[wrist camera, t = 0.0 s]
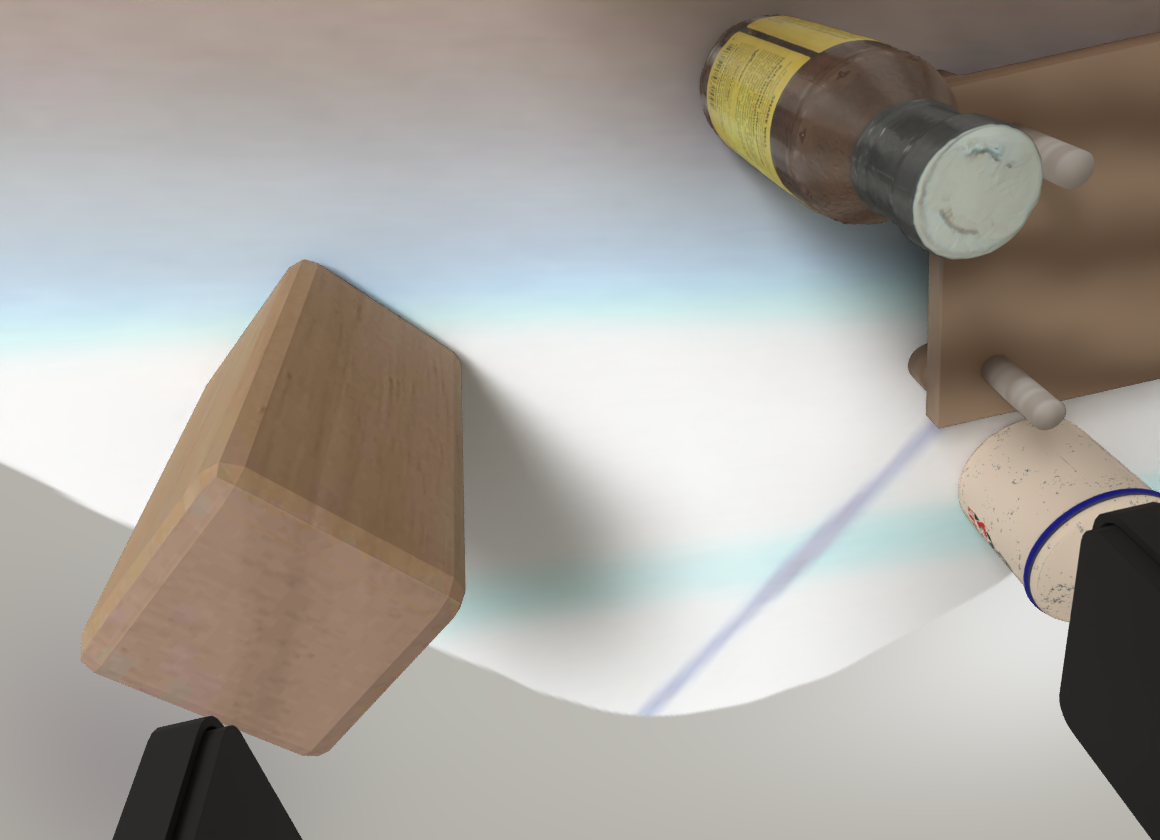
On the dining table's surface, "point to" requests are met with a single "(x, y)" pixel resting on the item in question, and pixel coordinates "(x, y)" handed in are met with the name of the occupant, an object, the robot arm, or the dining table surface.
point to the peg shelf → (1057, 245)
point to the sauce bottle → (869, 135)
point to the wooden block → (297, 524)
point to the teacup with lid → (1044, 503)
